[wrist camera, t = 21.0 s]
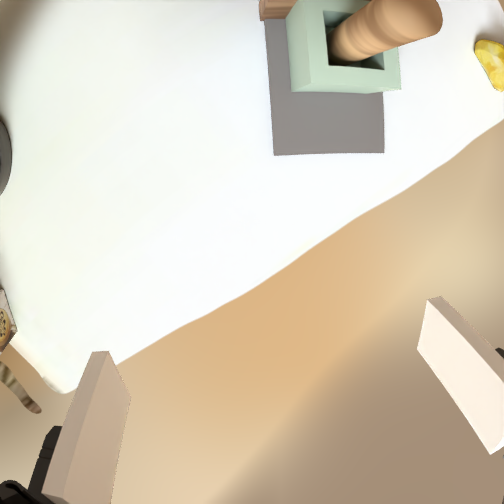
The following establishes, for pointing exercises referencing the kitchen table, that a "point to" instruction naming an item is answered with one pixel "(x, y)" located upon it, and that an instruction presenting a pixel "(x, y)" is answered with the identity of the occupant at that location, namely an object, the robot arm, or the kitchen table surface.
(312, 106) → the mat
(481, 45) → the chocolate bunny
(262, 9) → the wall
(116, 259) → the kitchen table surface
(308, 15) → the mint green square pot
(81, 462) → the robot arm
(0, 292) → the coffee box
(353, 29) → the dowel
